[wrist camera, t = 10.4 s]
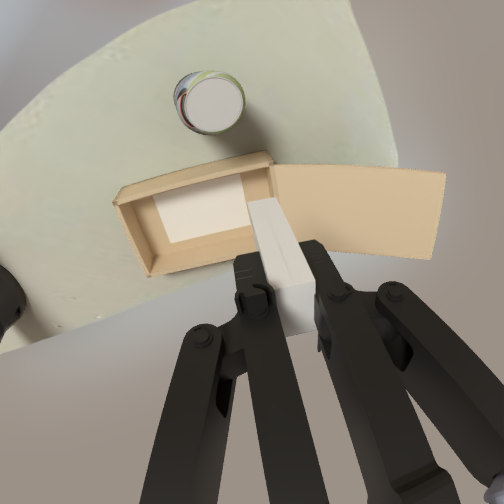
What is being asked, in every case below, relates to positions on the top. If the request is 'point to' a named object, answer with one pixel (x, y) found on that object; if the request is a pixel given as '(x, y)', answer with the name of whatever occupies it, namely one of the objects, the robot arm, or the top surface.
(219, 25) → the top surface
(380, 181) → the lid
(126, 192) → the box
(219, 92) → the beverage can
